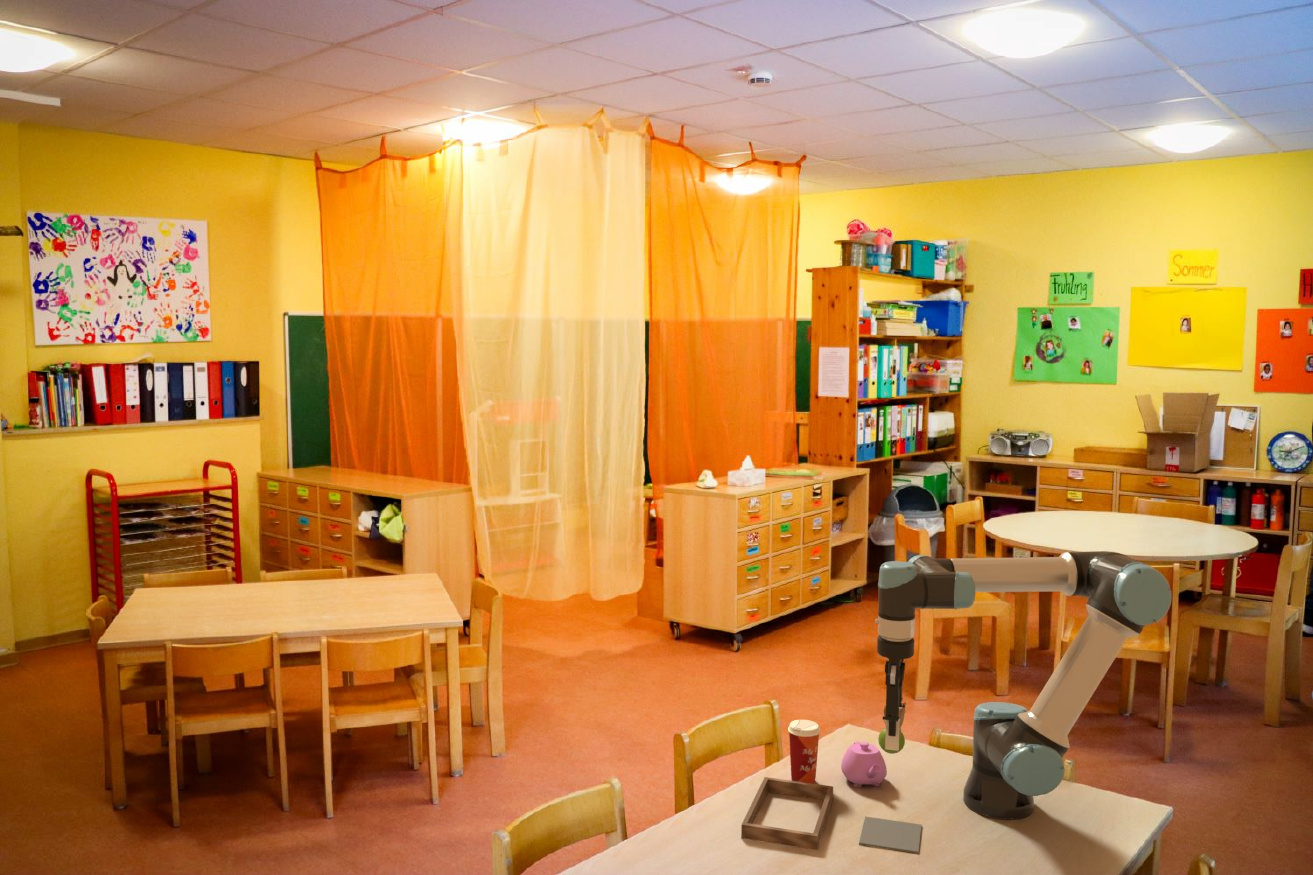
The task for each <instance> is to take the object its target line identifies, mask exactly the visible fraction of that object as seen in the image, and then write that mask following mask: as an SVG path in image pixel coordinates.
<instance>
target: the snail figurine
mask: <svg viewBox="0 0 1313 875" xmlns="http://www.w3.org/2000/svg"><path fill="white" fill-rule="evenodd" d="M901 705H902V707H899V719H900V721H899V728H900V727H901V728H902V726H903V723H904V719H905V714H906V707H905V708H903V705H905V706H906V705H907V702H906V701H905V702H901ZM883 716H886V705H885V706H884V708H883ZM883 723H884V725H886V720H883ZM885 736H886V727H885V728H883V729H882V730H881V731H880V732H879V734H878V744H879V746H880V748H881V749H882V751H884V752H885V753H887V754H892V755H894V754H898V753H899V752H901V751H902V750H903V749H904V746H905V743H906V739H905V738H906V737H905V735H904V733H903V732H902V730H901V731H900V730H899V751H895V750H887V749H885Z"/></svg>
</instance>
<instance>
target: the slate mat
mask: <svg viewBox="0 0 1313 875" xmlns="http://www.w3.org/2000/svg"><path fill="white" fill-rule="evenodd" d="M863 820H864V821H863V824H862V829H861V833H860V838H859V842H858V844H859V845H861V846H867V847H872V848H878V849H879V848H880V849H888V850H892V851H899V852H907V853H912V854H919V850H920V843H921V842H920V841H921V836H922V835H921V833H922V824H918V823H913V822H905V821H900V820H893V819H886V818H885V819H884V818H881V817H871V816H865V817H864V819H863Z"/></svg>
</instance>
